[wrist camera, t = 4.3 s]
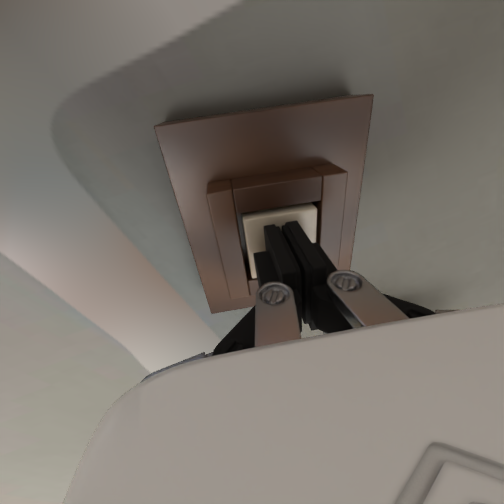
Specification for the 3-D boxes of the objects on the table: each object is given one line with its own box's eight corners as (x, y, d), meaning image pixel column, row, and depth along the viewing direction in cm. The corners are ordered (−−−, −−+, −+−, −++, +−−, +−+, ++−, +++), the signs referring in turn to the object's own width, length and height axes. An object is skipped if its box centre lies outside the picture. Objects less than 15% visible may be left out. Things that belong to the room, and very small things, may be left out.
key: (240, 206, 13) (242, 220, 11) (306, 195, 13) (317, 208, 11) (248, 261, 14) (251, 279, 13) (305, 251, 15) (315, 268, 13)
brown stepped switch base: (163, 122, 12) (141, 130, 9) (351, 95, 13) (400, 92, 9) (212, 293, 19) (210, 334, 15) (334, 272, 19) (359, 308, 16)
